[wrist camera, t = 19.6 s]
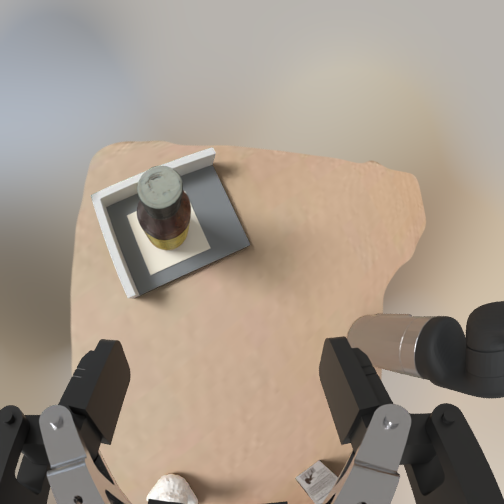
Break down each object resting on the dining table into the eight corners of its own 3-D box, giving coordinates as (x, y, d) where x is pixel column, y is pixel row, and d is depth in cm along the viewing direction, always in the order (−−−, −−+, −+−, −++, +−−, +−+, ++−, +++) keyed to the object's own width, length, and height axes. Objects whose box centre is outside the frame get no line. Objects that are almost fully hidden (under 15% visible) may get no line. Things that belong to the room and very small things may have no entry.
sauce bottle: (150, 210, 41) (132, 145, 22) (189, 213, 43) (199, 150, 24) (145, 252, 40) (118, 214, 21) (186, 255, 41) (192, 220, 22)
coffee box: (338, 477, 42) (381, 513, 27) (314, 495, 40) (352, 536, 25) (319, 458, 42) (364, 498, 27) (293, 478, 40) (331, 523, 25)
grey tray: (208, 161, 46) (212, 147, 41) (248, 245, 45) (257, 239, 41) (99, 205, 40) (90, 195, 35) (133, 298, 40) (127, 298, 35)
